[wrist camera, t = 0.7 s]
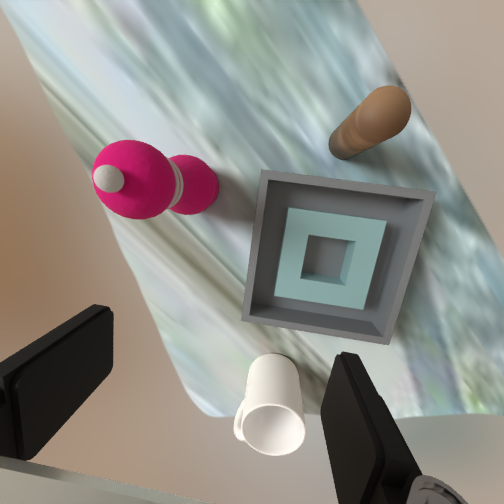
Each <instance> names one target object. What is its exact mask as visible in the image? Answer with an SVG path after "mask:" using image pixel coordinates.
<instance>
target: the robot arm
mask: <svg viewBox="0 0 504 504" xmlns="http://www.w3.org/2000/svg"><path fill="white" fill-rule="evenodd" d="M113 316H114V315H113V312H112V311H111V310H110V308H109V307H107V306H102V305H96V304H94V305H92V306H90V307H88V308H87V309H85V310H84V311H82V312H80V313H79V314H77V315H76V316H74V317H73V318H71V319H69V320H68V321H66V322H65V323H63V324H61V325H60V326H58V327H56V328H55V329H53V330H52V331H50V332H49V333H47V334H45V335H44V336H42V337H41V338H39V339H37V340H36V341H34V342H32V343H31V344H29V345H28V346H26V347H24V348H23V349H21V350H20V351H18V352H16V353H15V354H13V355H12V356H10V357H8V358H7V359H5V360H4V361H2V362H0V504H214V503H210V502H206V501H202V500H197V499H193V498H188V497H184V496H180V495H175V494H171V493H166V492H162V491H158V490H153V489H149V488H145V487H140V486H136V485H131V484H126V483H122V482H118V481H113V480H109V479H105V478H100V477H96V476H91V475H86V474H82V473H77V472H73V471H68V470H64V469H59V468H55V467H50V466H46V465H41V464H36V463H32V462H27V461H26V460H30V459H32V458H33V457H34V456H36V455H37V453H38V452H39V451H40V450H41V449H42V448H43V447H44V446H45V445H46V443H47V442H48V441H49V440H50V439H51V438H52V437H53V436H54V435H55V433H56V432H57V431H58V430H59V429H60V428H61V427H62V426H63V425H64V424H65V422H66V421H67V420H68V419H69V418H70V417H71V416H72V415H73V414H74V412H75V411H76V410H77V409H78V408H79V407H80V406H81V405H82V404H83V402H84V401H85V400H86V399H87V398H88V397H89V396H90V395H91V394H92V392H93V391H94V390H95V389H96V388H97V387H98V386H99V385H100V384H101V383H102V381H103V380H104V379H105V378H106V377H107V376H108V375H109V373H110V372H111V370H112V367H113V320H114V317H113ZM321 420H322V425H323V430H324V435H325V440H326V444H327V450H328V454H329V459H330V464H331V469H332V473H333V478H334V483H335V489H336V493H337V498H338V503H339V504H468V503H467V502H466V501H465V500H464V499H463V498H462V496H460V495H459V494H458V493H457V492H456V491H455V490H454V489H453V488H451V487H450V486H449V485H447V484H445V483H444V482H442V481H441V480H439V479H436V478H434V477H431V476H426V475H422V473H421V471H420V469H419V467H418V465H417V463H416V461H415V459H414V457H413V455H412V453H411V451H410V450H409V448H408V446H407V444H406V442H405V440H404V438H403V436H402V434H401V433H400V430H399V429H398V427H397V425H396V423H395V421H394V419H393V417H392V415H391V413H390V411H389V409H388V407H387V406H386V404H385V402H384V400H383V399H382V397H381V396H380V395H379V394H378V392H377V391H376V389H375V387H374V385H373V383H372V381H371V379H370V377H369V375H368V373H367V371H366V369H365V367H364V365H363V363H362V361H361V359H360V357H359V356H358V355H357V354H353V353H348V352H342V353H341V354H340V355H338V354H337V355H336V357H335V361H334V364H333V368H332V371H331V375H330V378H329V381H328V385H327V388H326V392H325V395H324V399H323V402H322V406H321Z"/></svg>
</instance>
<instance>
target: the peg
mask: <svg viewBox="0 0 504 504" xmlns="http://www.w3.org/2000/svg"><path fill="white" fill-rule="evenodd" d="M410 115H411V102H410V99H409V97H408V95H407V94H406V93H405V92H404V91H403V90H402V89H400V88H399V87H396V86H383V87H380V88H378V89H376V90H374V91H373V92H372V93H370V94H369V95H368V96H367V98H366V99H365V100H364V101H363V102H362V103H361V104H360V105H359V106H358V107H357V108H356V109H355V110H354V111H353V112H352V113H351V114H350V115H349V116H348V117H347V118H346V119H345V120H344V121H343V122H342V124H341V125H340V126H339V127H338V128H337V129H336V130H335V131H334V132H333V133H332V135H331V136H330V139H329V150H330V152H331V153H332V155H333V156H335V157H336V158H339V159H347V158H350V157H352V156H354V155H356V154H358V153H360V152H362V151H364V150H366V149H369V148H371V147H373V146H375V145H377V144H379V143H381V142H383V141H385V140H387V139H390V138H392V137H394V136H396V135H397V134H398V133H400V132H401V131H402V130H403V129H404V127H405V126H406V125H407V123H408V121H409V118H410Z"/></svg>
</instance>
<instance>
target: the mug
mask: <svg viewBox="0 0 504 504" xmlns="http://www.w3.org/2000/svg"><path fill="white" fill-rule="evenodd" d="M234 433H235V435H236V437H237V438H238V439H239V440H241V441H246V442H247V443H248V444H249V446H250V447H252V448H253V449H254V450H256V451H258V452H260V453H263V454H266V455H272V456H281V455H286V454H289V453H292V452H293V451H295V450H297V449H298V448H299V447H300V446H301V445H302V443H303V442H304V439H305V435H306V427H305V420H304V412H303V404H302V397H301V389H300V382H299V375H298V371H297V369H296V366H295V365H294V364H293V362H292V361H291V360H290V359H288V358H287V357H285V356H283V355H280V354H274V353H271V354H265V355H262V356H260V357H258V358H257V359H256V360H255V361H254V362H253V363H252V365H251V367H250V370H249V374H248V380H247V387H246V394H245V399H244V400H243V402H242V403H241V405H240V407H239V409H238V411H237V414H236V417H235V422H234Z"/></svg>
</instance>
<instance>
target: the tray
mask: <svg viewBox="0 0 504 504" xmlns="http://www.w3.org/2000/svg"><path fill="white" fill-rule="evenodd" d="M435 194H436V192H433V191H426V190H418V189H410V188H402V187H394V186H387V185H379V184H371V183H363V182H355V181H348V180H340V179H332V178H324V177H316V176H309V175H301V174H293V173H285V172H277V171H270V170H262V169H261V174H260V182H259V190H258V197H257V205H256V212H255V220H254V227H253V235H252V243H251V250H250V258H249V265H248V273H247V281H246V288H245V296H244V303H243V311H242V319H241V321H245V322H251V323H257V324H263V325H269V326H275V327H282V328H288V329H294V330H300V331H306V332H312V333H318V334H324V335H330V336H336V337H342V338H348V339H354V340H360V341H367V342H373V343H379V344H385V345H389V344H390V340H391V337H392V334H393V331H394V327H395V324H396V321H397V318H398V314H399V311H400V308H401V305H402V301H403V298H404V295H405V292H406V288H407V285H408V282H409V279H410V275H411V272H412V269H413V266H414V263H415V259H416V256H417V253H418V250H419V246H420V243H421V240H422V237H423V233H424V230H425V227H426V224H427V220H428V217H429V214H430V211H431V207H432V204H433V201H434V198H435Z"/></svg>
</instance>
